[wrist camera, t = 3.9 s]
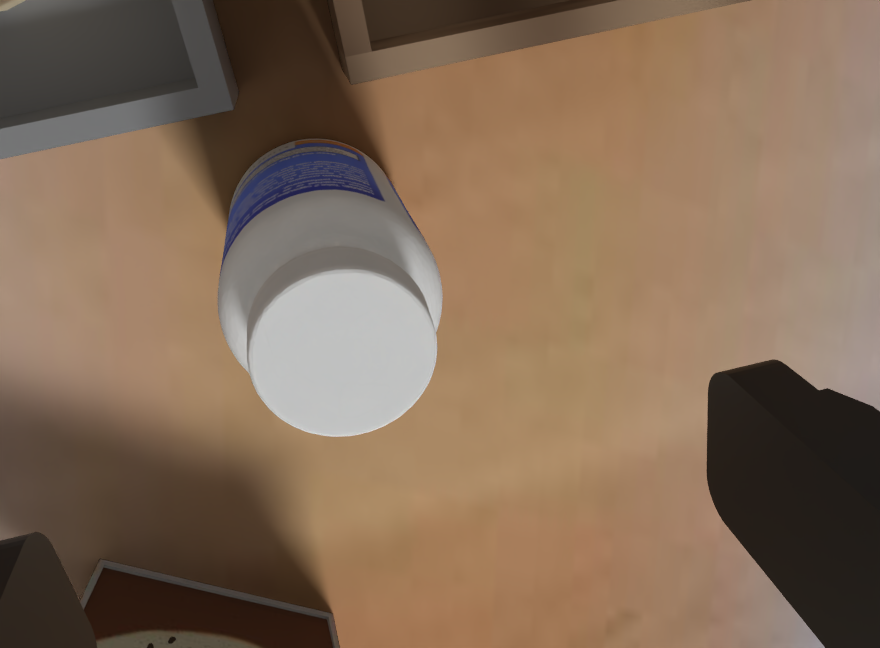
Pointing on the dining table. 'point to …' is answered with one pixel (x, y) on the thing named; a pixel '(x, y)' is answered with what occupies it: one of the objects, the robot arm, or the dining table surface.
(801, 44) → the dining table surface
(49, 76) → the tray left
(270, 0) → the dining table surface
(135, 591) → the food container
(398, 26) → the tray right
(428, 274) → the pill bottle
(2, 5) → the wooden cube
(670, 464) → the dining table surface
